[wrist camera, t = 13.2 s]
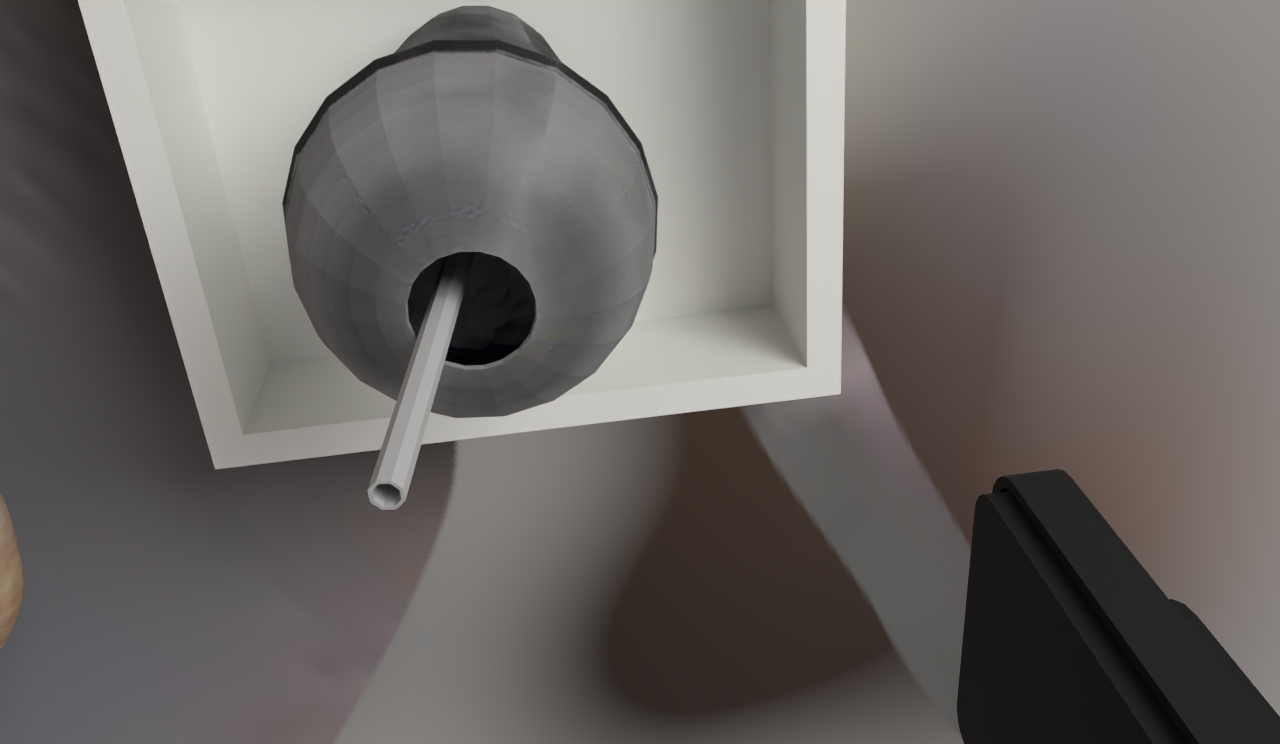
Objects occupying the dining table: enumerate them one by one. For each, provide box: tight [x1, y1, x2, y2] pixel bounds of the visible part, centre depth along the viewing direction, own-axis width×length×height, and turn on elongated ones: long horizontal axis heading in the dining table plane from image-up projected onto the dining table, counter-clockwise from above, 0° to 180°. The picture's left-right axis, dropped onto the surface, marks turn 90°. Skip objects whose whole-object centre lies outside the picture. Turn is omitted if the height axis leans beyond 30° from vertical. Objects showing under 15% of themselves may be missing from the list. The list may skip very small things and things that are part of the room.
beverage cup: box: [282, 6, 658, 510], centre depth 24 cm, size 7×7×20 cm
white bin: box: [78, 0, 846, 469], centre depth 31 cm, size 18×18×5 cm
